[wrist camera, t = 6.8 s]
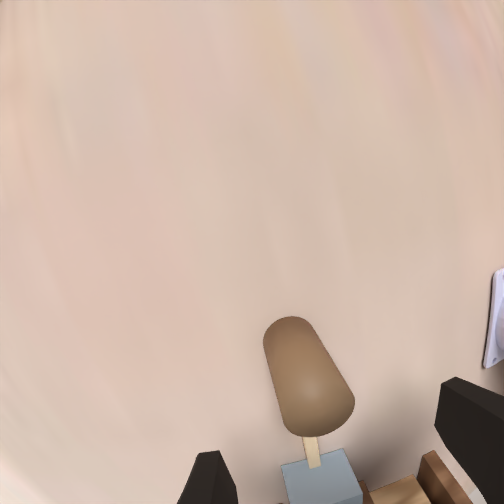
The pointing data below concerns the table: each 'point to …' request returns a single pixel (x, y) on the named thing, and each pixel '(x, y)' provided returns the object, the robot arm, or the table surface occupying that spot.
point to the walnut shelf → (432, 483)
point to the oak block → (400, 493)
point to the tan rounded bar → (311, 412)
